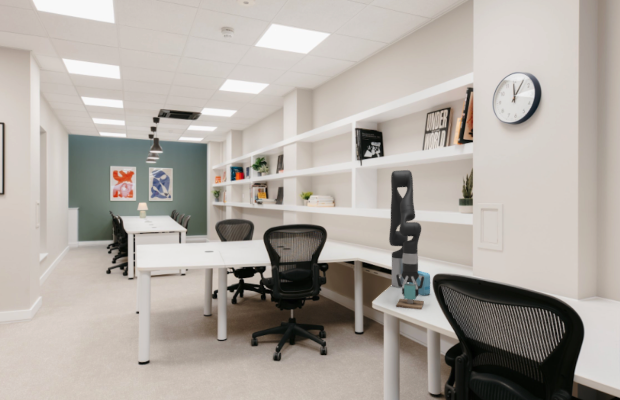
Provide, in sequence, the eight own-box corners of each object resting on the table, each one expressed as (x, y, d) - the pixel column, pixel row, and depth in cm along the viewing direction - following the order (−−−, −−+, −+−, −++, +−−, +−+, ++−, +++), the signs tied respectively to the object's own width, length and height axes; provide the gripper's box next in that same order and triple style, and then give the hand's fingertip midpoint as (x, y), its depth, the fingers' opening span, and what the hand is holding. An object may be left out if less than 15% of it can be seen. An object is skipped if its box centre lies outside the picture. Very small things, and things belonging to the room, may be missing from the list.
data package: (430, 295, 207) (430, 273, 207) (424, 296, 205) (424, 274, 205) (414, 290, 218) (414, 269, 218) (408, 291, 216) (408, 270, 216)
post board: (399, 300, 197) (399, 286, 197) (423, 302, 193) (423, 288, 192) (396, 306, 186) (396, 291, 186) (421, 309, 181) (421, 294, 181)
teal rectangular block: (405, 296, 192) (405, 283, 192) (416, 297, 190) (416, 284, 190) (404, 298, 188) (404, 285, 187) (415, 299, 186) (415, 286, 186)
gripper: (425, 261, 190) (425, 295, 190) (396, 260, 195) (396, 292, 195) (424, 264, 183) (424, 299, 183) (394, 262, 188) (394, 296, 188)
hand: (410, 295), depth 189 cm, fingers closed on teal rectangular block, 5 cm apart
